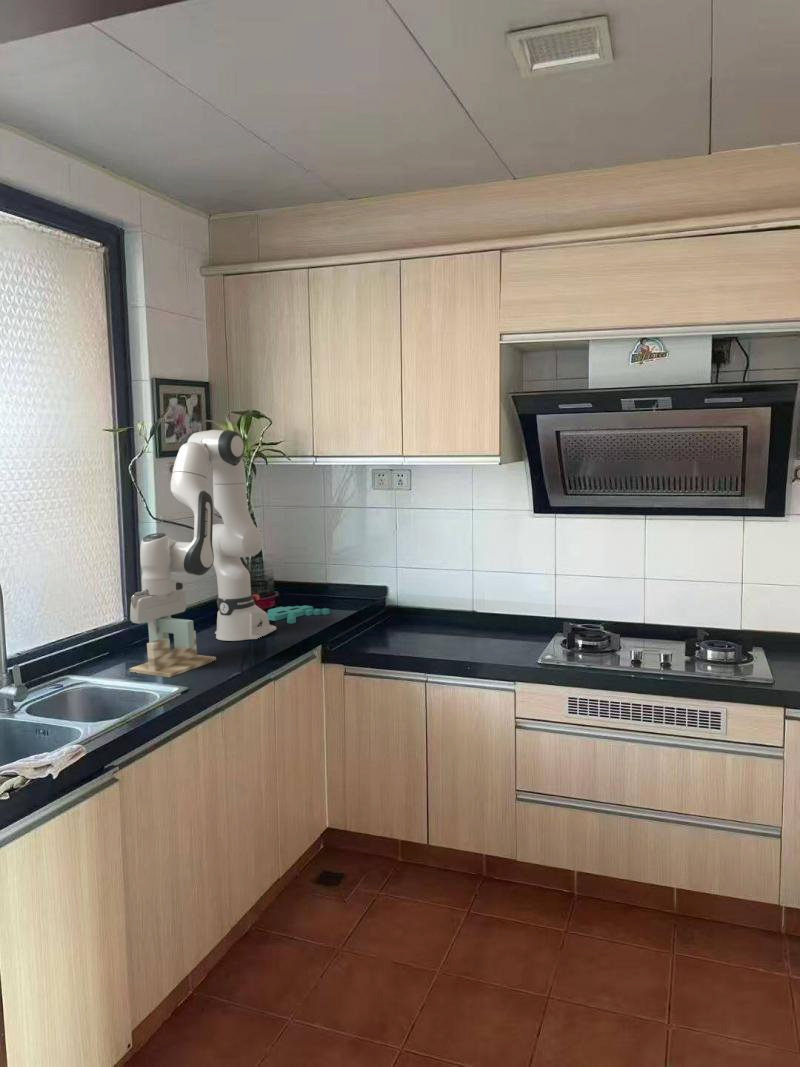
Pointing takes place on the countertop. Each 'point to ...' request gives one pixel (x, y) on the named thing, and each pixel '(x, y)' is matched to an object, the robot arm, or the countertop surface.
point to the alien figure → (293, 612)
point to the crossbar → (174, 631)
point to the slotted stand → (170, 659)
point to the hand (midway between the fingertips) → (160, 632)
